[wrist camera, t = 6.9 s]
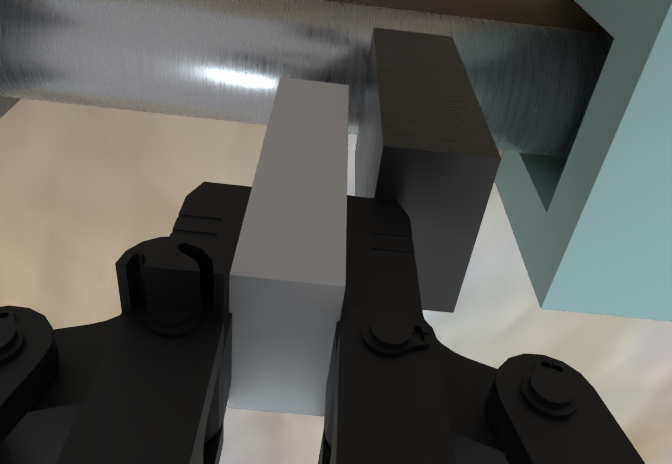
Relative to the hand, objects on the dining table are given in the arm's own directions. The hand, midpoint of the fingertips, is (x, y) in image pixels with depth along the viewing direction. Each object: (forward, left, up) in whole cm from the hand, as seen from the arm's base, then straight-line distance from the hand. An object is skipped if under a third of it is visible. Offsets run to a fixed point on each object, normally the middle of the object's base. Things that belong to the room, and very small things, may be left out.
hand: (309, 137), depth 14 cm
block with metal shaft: (0, -2, -7) cm, 7 cm away
